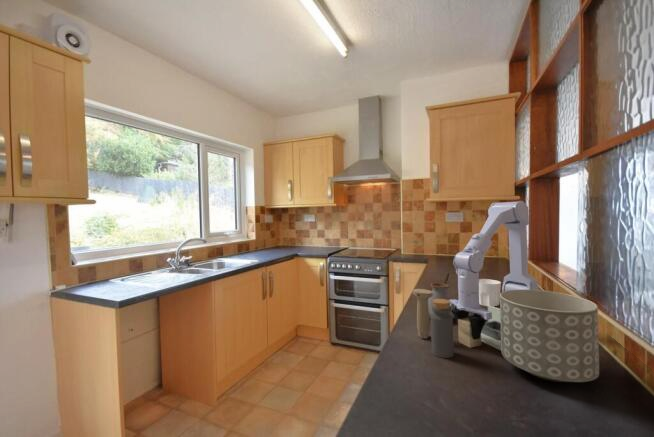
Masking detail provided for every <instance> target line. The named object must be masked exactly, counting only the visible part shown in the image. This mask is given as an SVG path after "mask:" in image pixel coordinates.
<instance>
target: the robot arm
mask: <svg viewBox="0 0 654 437" xmlns="http://www.w3.org/2000/svg"><path fill="white" fill-rule="evenodd" d="M529 209H530V208H529V206H528V205H527V204H526V203H525V202H524V201H523V200H518V201H507V202H505V201H504V202H493V203H491V205H490V206H489V208H488V209H487V214H488V217H487V219H486V220H485V223H484V225H483V226H482V228H481V230H480V232H479V233H474V234H473V235H472V236H471V238H470V240H469V241H468V243H467V244H466V246H465V247H464V248H463V250H462V251H459V252H457V253H456V254H455V256H454V257H453V261H452V264H453V267H454V268H455V273H456V275H457V290H458V291H457V292H458V299H455V298H453V299H451V298H450V299H451V300H449V301H450V306H454V309H452V313H453V315H454V319H455V322H456V323H457V325H458V319H462V318H469V321H470V324H471V329H472V338H473V339H474V340H476V339H480V335H481V332H482V329H483V326H484V324H485V323H486V322H488V320H489V319H492V312H489V311H488V309H486V308H484V307H482V305H480V304H479V279H480V278H479V277H480V276H479V275H480V274H479V272H481V270H482V269H483V267H484V260H485V255H486V254H487V252H488V250H489V249H490V247H491V246H492V244H493V242H492V240H491V239H492V237H493V236H494V235H495V234H496V233H497V231H498V230H499V229H500V227H501V226H502V225H503V226H505V227H506V228H507V231H508V248H509V249H508V250H509V252H508V253H509V273H508V274H506V275H505V276H504V277H503V282H502V285H501V286H502V288H501V290H502V292H504V291H508V290H541V289H540V287H539V281H538V279H536V278H535V277H533V276H532V275H531V274H529V262H528V261H529V260H528V259H529V258H528V236H527V233H528V232H527V226H528V225H529V224H530V212H529V211H530V210H529ZM502 292H501V293H502ZM470 313H471V314H473V315H470Z"/></svg>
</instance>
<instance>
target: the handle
mask: <svg viewBox="0 0 654 437" xmlns="http://www.w3.org/2000/svg"><path fill="white" fill-rule="evenodd" d="M411 294H412V295H413V296H415V297H416V300H417V301H416V303H417V304H416V328H417V335H418V337H419V338H420V339H425V340H427V339H429V337H430V329H431V319H430V317H429V307H428V299H429V298H430V297H432V296H433V292H432V290H428V289H424V288H423V289H422V288H414V289H412V292H411Z"/></svg>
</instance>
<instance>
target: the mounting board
mask: <svg viewBox="0 0 654 437" xmlns="http://www.w3.org/2000/svg"><path fill="white" fill-rule="evenodd" d="M487 311H489V312H492V319H489V320H487V322H489V321H494V320H495V321H498V322H500V323H501V319H500V307H495V306H487ZM494 330H496V329H494ZM497 331H499V330H497ZM482 342H483V343H484V344H486V345H488V346H491V347H493V348H495V349H497V350H499V351H501V340H499V341H498V340H496V339H494V338H491V337H489V336H487V335H485V334H482V333H481V343H482Z"/></svg>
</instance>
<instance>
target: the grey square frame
mask: <svg viewBox="0 0 654 437" xmlns="http://www.w3.org/2000/svg"><path fill="white" fill-rule="evenodd" d="M494 329H496V330H494ZM497 330H499V331H497ZM481 333H482V334H485V335H487V336H489V337H491V338H494V339H496V340H498V341H499V340H501V323H500V322H498V321H495V320H494V321H489V322H488V321H486V323H485V324H484V326H483V329H482V332H481Z"/></svg>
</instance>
